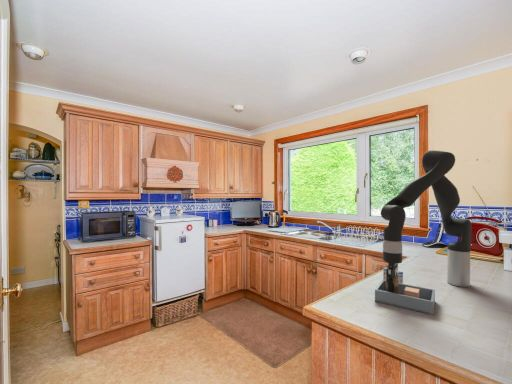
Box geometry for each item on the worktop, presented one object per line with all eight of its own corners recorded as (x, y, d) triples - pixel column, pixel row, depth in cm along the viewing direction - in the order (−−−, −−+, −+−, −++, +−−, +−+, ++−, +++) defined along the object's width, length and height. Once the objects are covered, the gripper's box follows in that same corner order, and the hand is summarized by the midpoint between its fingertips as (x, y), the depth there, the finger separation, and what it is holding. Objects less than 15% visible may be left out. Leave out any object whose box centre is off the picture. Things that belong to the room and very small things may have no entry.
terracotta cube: (405, 298, 114) (405, 286, 114) (419, 301, 111) (419, 289, 111) (404, 302, 110) (404, 290, 110) (418, 305, 107) (418, 292, 107)
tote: (382, 290, 124) (382, 279, 124) (434, 301, 112) (435, 289, 112) (374, 301, 112) (374, 289, 112) (433, 315, 100) (433, 302, 100)
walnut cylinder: (399, 291, 115) (399, 275, 115) (397, 294, 111) (397, 278, 111) (386, 288, 118) (386, 273, 118) (384, 292, 114) (384, 275, 114)
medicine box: (382, 285, 131) (382, 268, 131) (389, 284, 133) (389, 267, 133) (396, 291, 124) (396, 272, 124) (403, 289, 125) (403, 271, 125)
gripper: (399, 255, 107) (399, 296, 107) (404, 249, 118) (404, 286, 118) (379, 252, 111) (379, 292, 111) (386, 246, 123) (385, 283, 123)
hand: (392, 289), depth 115 cm, fingers closed on walnut cylinder, 5 cm apart
